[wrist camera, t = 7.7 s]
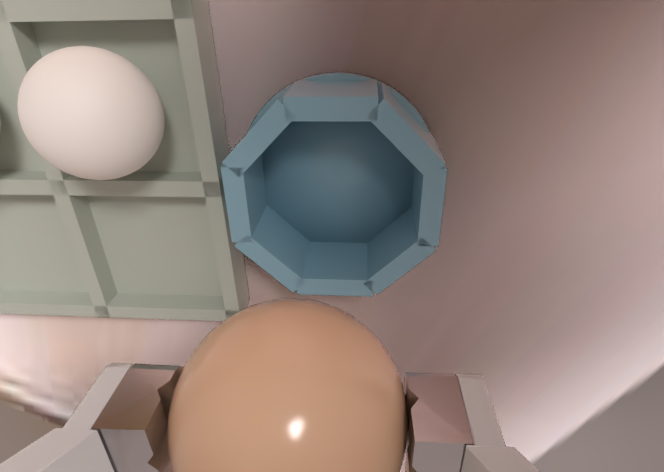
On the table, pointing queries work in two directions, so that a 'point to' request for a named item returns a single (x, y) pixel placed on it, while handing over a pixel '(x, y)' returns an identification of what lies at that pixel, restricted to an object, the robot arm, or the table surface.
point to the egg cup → (336, 186)
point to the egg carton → (114, 163)
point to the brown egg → (288, 395)
